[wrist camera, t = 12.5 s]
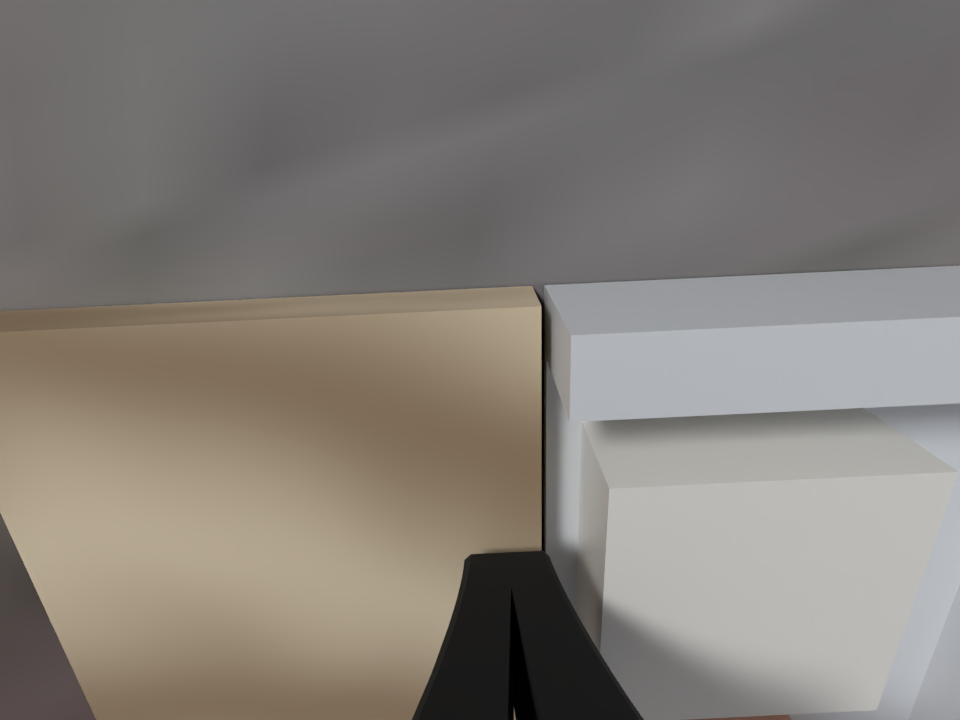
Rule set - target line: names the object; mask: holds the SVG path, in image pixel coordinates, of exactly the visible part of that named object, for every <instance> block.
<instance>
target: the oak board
mask: <svg viewBox="0 0 960 720" xmlns="http://www.w3.org/2000/svg"><path fill="white" fill-rule="evenodd" d="M0 513H1V515H2V517H3V519H4V521H5V524H6V526H7V528H8V530H9V532H10V534H11V537H12V539H13V541H14V543H15V545H16V547H17V550H18V552H19V554H20V556H21V558H22V560H23V562H24V565H25V567H26V569H27V571H28V573H29V575H30V578H31V580H32V582H33V584H34V586H35V588H36V591H37V593H38V595H39V597H40V599H41V601H42V604H43V606H44V608H45V610H46V612H47V614H48V616H49V619H50V621H51V623H52V625H53V627H54V629H55V632H56V634H57V636H58V638H59V640H60V642H61V645H62V647H63V649H64V651H65V653H66V655H67V657H68V660H69V662H70V664H71V666H72V668H73V670H74V673H75V675H76V677H77V679H78V681H79V683H80V686H81V688H82V690H83V692H84V694H85V696H86V699H87V701H88V703H89V705H90V707H91V709H92V711H93V714H94V716H95V718H96V720H412V718H413V715H414V713H415V711H416V708H417V706H418V704H419V701H420V699H421V697H422V694H423V692H424V690H425V687H426V685H427V683H428V680H429V678H430V675H431V673H432V670H433V668H434V665H435V662H436V660H437V657H438V654H439V651H440V648H441V646H442V643H443V640H444V637H445V635H446V632H447V629H448V626H449V623H450V620H451V617H452V613H453V610H454V607H455V603H456V600H457V596H458V592H459V588H460V584H461V579H462V574H463V568H464V560H465V559H466V558H467V557H468V556H469V555H470V554H485V553H506V552H528V551H542V506H541V304H540V302H539V300H538V298H537V295H536V293H535V291H534V289H533V286H520V287H499V288H478V289H457V290H436V291H415V292H394V293H373V294H351V295H330V296H309V297H288V298H267V299H246V300H225V301H204V302H183V303H162V304H141V305H120V306H99V307H78V308H56V309H35V310H14V311H0ZM514 720H516V717H515V711H514Z"/></svg>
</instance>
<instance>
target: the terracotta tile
mask: <svg viewBox="0 0 960 720" xmlns="http://www.w3.org/2000/svg"><path fill="white" fill-rule="evenodd" d="M688 720H791V718H790V717H789V715H769V716H749V717H729V718H708V719H688Z"/></svg>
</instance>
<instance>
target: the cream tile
mask: <svg viewBox="0 0 960 720" xmlns="http://www.w3.org/2000/svg"><path fill="white" fill-rule="evenodd" d="M958 473H959V472H958V471H957V470H955V469H954V468H952V467H951V466H949V465H948V464H946V463H945V462H943V461H942V460H940V459H939V458H937V457H936V456H934V455H933V454H931V453H930V452H928V451H927V450H925V449H924V448H922V447H921V446H919V445H918V444H916V443H915V442H913V441H912V440H910V439H909V438H907V437H906V436H904V435H903V434H901V433H900V432H898V431H897V430H895V429H894V428H892V427H891V426H889V425H888V424H886V423H885V422H883V421H882V420H880V419H879V418H877V417H876V416H874V415H873V414H871V413H870V412H868V411H867V410H865V409H864V408H853V409H832V410H811V411H791V412H770V413H749V414H728V415H707V416H686V417H666V418H645V419H624V420H603V421H582V428H581V460H580V491H579V523H578V555H577V587H576V613H577V615H578V617H579V618H580V620H581V622H582V624H583V625H584V627H585V629H586V631H587V632H588V634H589V636H590V637H591V639H592V641H593V642H594V644H595V646H596V647H597V649H598V650H599V652H600V654H601V655H602V657H603V659H604V660H605V662H606V663H607V665H608V667H609V668H610V670H611V672H612V673H613V675H614V676H615V678H616V679H617V681H618V682H619V684H620V685H621V687H622V688H623V690H624V691H625V693H626V694H627V696H628V697H629V699H630V700H631V702H632V703H633V705H634V706H635V708H636V709H637V710H638V712H639V713H640V715H641V716H642V718H643V719H644V720H688V719H708V718H729V717H749V716H769V715H789V714H810V713H830V712H850V711H870V710H877V708H878V705H879V702H880V699H881V696H882V693H883V690H884V687H885V685H886V682H887V679H888V676H889V673H890V670H891V667H892V664H893V661H894V658H895V656H896V653H897V650H898V647H899V644H900V641H901V638H902V635H903V632H904V629H905V626H906V624H907V621H908V618H909V615H910V612H911V609H912V606H913V603H914V600H915V597H916V595H917V592H918V589H919V586H920V583H921V580H922V577H923V574H924V571H925V568H926V566H927V563H928V560H929V557H930V554H931V551H932V548H933V545H934V542H935V539H936V536H937V534H938V531H939V528H940V525H941V522H942V519H943V516H944V513H945V510H946V507H947V505H948V502H949V499H950V496H951V493H952V490H953V487H954V484H955V481H956V478H957V475H958Z"/></svg>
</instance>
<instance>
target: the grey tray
mask: <svg viewBox="0 0 960 720" xmlns="http://www.w3.org/2000/svg"><path fill="white" fill-rule="evenodd" d="M853 408H864V409H865V410H867V411H868V412H870V413H871V414H873V415H874V416H876V417H877V418H879V419H880V420H882V421H883V422H885V423H886V424H888V425H889V426H891V427H892V428H894V429H895V430H897V431H898V432H900V433H901V434H903V435H904V436H906V437H907V438H909V439H910V440H912V441H913V442H915V443H916V444H918V445H919V446H921V447H922V448H924V449H925V450H927V451H928V452H930V453H931V454H933V455H934V456H936V457H937V458H939V459H940V460H942V461H943V462H945V463H946V464H948V465H949V466H951V467H952V468H954V469H955V470H957V471H958V472H959V473H958V475H957V478H956V481H955V484H954V487H953V490H952V493H951V496H950V499H949V502H948V505H947V507H946V510H945V513H944V516H943V519H942V522H941V525H940V528H939V531H938V534H937V536H936V539H935V542H934V545H933V548H932V551H931V554H930V557H929V560H928V563H927V566H926V568H925V571H924V574H923V577H922V580H921V583H920V586H919V589H918V592H917V595H916V597H915V600H914V603H913V606H912V609H911V612H910V615H909V618H908V621H907V624H906V626H905V629H904V632H903V635H902V638H901V641H900V644H899V647H898V650H897V653H896V656H895V658H894V661H893V664H892V667H891V670H890V673H889V676H888V679H887V682H886V685H885V687H884V690H883V693H882V696H881V699H880V702H879V705H878V708H877V710H870V711H850V712H830V713H810V714H789V717H790V718H791V720H960V266H942V267H920V268H899V269H878V270H857V271H836V272H815V273H794V274H773V275H752V276H731V277H710V278H689V279H668V280H647V281H625V282H604V283H583V284H562V285H544V552H545V553H546V554H547V555H549V556H550V559H551V562H552V564H553V567H554V569H555V571H556V573H557V576H558V578H559V580H560V582H561V584H562V586H563V588H564V590H565V592H566V594H567V596H568V598H569V600H570V602H571V604H572V605H573V607H574V609H575V611H576V587H577V555H578V523H579V491H580V460H581V428H582V421H603V420H624V419H645V418H666V417H686V416H707V415H728V414H749V413H770V412H791V411H811V410H832V409H853Z"/></svg>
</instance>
